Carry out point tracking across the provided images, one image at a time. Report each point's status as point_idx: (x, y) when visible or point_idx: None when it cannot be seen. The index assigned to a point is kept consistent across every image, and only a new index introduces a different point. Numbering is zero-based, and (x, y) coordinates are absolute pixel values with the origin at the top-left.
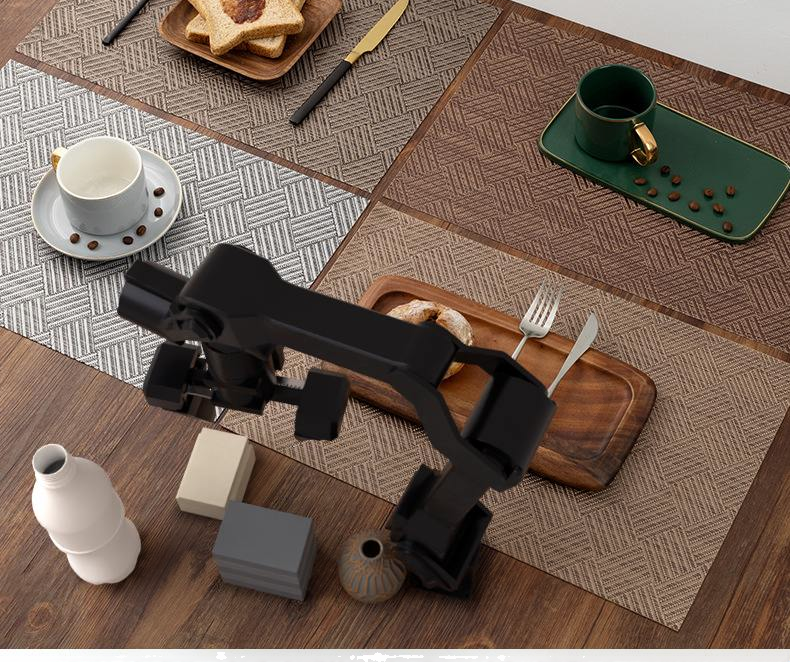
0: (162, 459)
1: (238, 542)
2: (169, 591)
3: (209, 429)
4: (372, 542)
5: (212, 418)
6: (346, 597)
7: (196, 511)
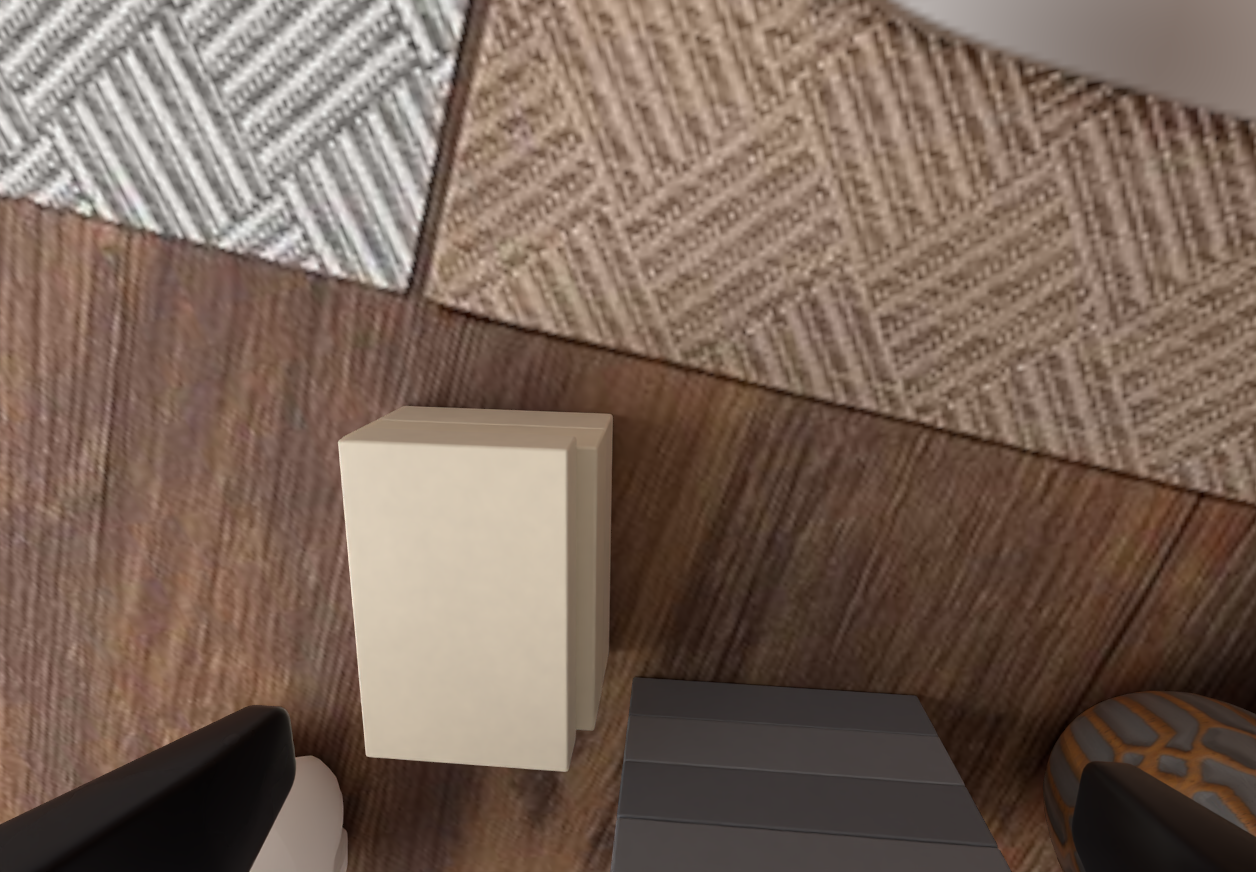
0: (281, 480)
1: None
2: (480, 862)
3: (371, 445)
4: (1160, 698)
5: (249, 823)
6: (1036, 817)
7: None
